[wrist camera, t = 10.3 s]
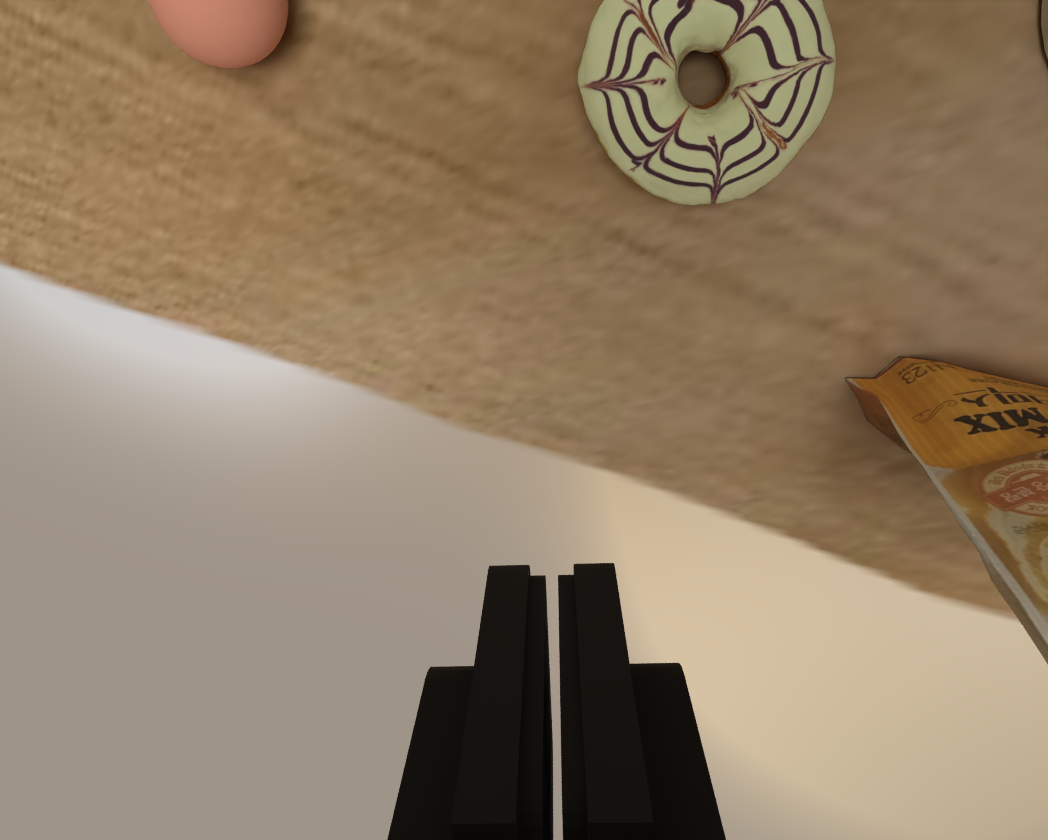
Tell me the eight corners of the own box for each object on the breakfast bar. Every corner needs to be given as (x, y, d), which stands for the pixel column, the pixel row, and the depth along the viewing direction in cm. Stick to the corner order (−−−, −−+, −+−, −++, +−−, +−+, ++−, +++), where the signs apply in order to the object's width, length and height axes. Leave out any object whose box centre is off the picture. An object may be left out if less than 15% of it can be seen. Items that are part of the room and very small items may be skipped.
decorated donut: (685, -110, 31) (703, -142, 28) (861, 59, 33) (898, 48, 30) (536, 100, 34) (534, 94, 31) (705, 243, 36) (722, 253, 33)
